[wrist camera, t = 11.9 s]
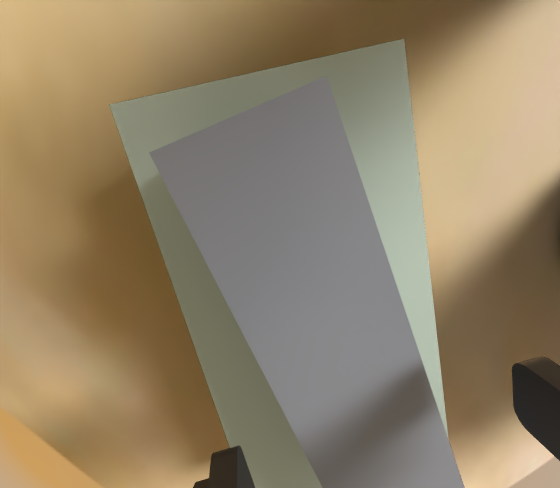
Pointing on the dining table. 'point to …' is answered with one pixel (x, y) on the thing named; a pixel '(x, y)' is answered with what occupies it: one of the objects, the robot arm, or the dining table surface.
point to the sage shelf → (382, 198)
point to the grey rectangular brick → (312, 288)
